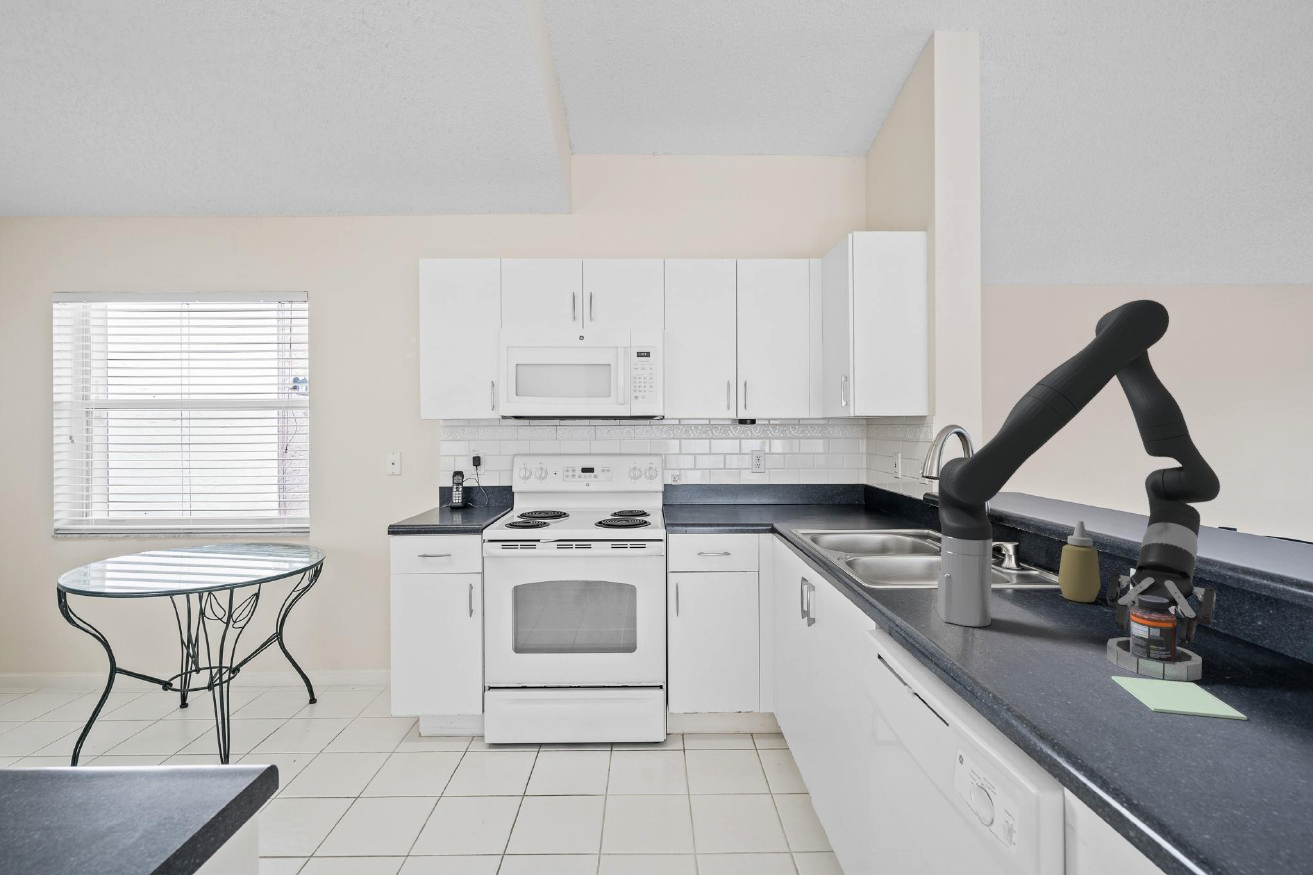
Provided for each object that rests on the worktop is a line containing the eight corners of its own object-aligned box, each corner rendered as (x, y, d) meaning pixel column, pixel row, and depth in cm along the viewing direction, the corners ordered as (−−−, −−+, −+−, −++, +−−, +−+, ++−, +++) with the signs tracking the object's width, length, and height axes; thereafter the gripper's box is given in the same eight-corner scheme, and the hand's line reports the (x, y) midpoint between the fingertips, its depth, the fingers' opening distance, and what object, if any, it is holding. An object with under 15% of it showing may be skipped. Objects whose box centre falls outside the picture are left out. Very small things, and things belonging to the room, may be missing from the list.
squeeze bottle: (1092, 596, 140) (1094, 519, 139) (1106, 606, 132) (1108, 525, 132) (1052, 592, 142) (1054, 517, 142) (1063, 602, 135) (1065, 523, 134)
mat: (1153, 711, 83) (1153, 708, 83) (1111, 678, 94) (1111, 675, 94) (1246, 719, 81) (1246, 717, 81) (1193, 685, 92) (1193, 682, 92)
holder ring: (1131, 676, 95) (1132, 661, 95) (1093, 648, 107) (1094, 635, 107) (1220, 684, 92) (1220, 668, 92) (1171, 654, 104) (1172, 640, 104)
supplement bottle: (1158, 659, 102) (1160, 593, 102) (1185, 673, 96) (1187, 604, 96) (1121, 657, 103) (1122, 592, 103) (1146, 671, 97) (1147, 602, 97)
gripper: (1114, 535, 109) (1095, 611, 102) (1221, 548, 99) (1208, 633, 91) (1120, 560, 113) (1102, 634, 106) (1224, 575, 102) (1212, 659, 95)
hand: (1151, 634), depth 98 cm, fingers open, 7 cm apart
